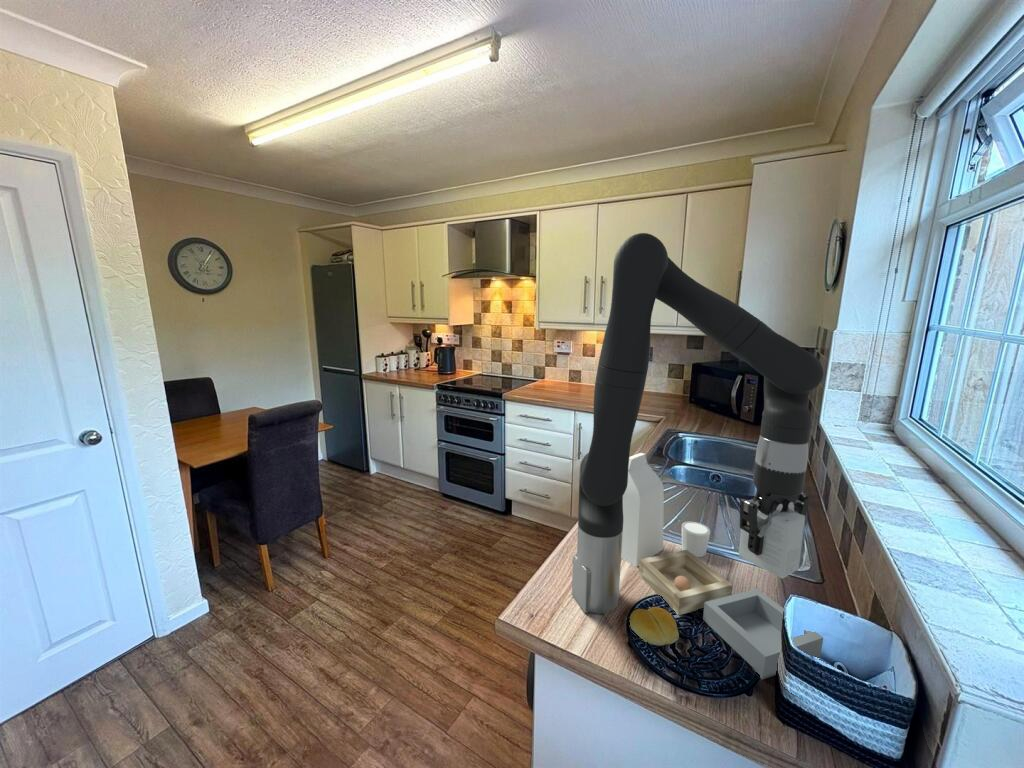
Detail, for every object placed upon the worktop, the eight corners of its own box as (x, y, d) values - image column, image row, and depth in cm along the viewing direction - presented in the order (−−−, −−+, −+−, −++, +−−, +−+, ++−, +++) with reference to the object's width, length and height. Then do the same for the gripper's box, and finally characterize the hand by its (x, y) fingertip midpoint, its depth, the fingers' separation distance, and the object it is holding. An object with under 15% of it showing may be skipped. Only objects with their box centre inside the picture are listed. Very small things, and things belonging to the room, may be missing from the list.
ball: (680, 597, 87) (681, 583, 87) (670, 587, 90) (671, 574, 90) (693, 594, 88) (694, 580, 88) (682, 584, 91) (683, 571, 91)
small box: (799, 570, 72) (807, 515, 70) (782, 580, 69) (790, 523, 67) (754, 547, 79) (760, 497, 77) (737, 556, 76) (743, 504, 74)
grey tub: (762, 679, 68) (765, 656, 68) (702, 621, 81) (704, 602, 80) (819, 659, 72) (823, 637, 72) (754, 607, 85) (756, 588, 84)
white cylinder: (683, 542, 110) (686, 518, 108) (711, 551, 105) (713, 526, 104) (675, 553, 104) (677, 528, 103) (704, 563, 100) (706, 538, 99)
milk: (636, 569, 98) (643, 468, 93) (598, 547, 107) (603, 454, 102) (662, 551, 105) (670, 456, 101) (625, 532, 114) (631, 445, 110)
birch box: (677, 617, 82) (679, 598, 81) (638, 576, 95) (639, 559, 94) (730, 603, 86) (732, 585, 85) (685, 566, 99) (686, 549, 98)
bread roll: (622, 618, 82) (623, 601, 81) (663, 614, 83) (665, 597, 83) (640, 652, 74) (642, 633, 73) (685, 646, 75) (687, 628, 75)
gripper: (768, 475, 65) (756, 569, 68) (831, 466, 69) (818, 554, 72) (730, 459, 72) (721, 545, 75) (790, 451, 76) (779, 532, 79)
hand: (768, 549), depth 74 cm, fingers closed on small box, 6 cm apart
